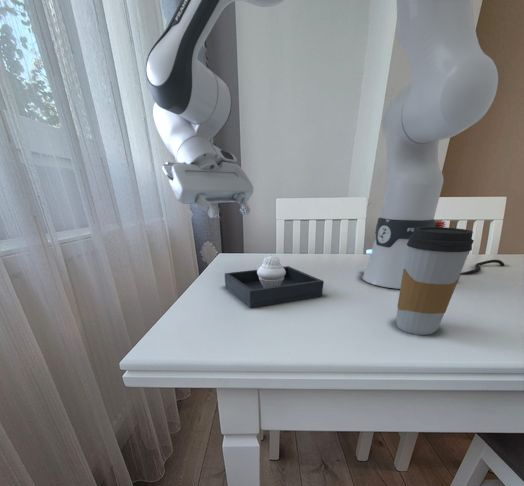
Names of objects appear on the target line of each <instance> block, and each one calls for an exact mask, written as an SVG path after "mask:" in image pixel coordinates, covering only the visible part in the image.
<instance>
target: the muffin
mask: <svg viewBox="0 0 524 486" xmlns="http://www.w3.org/2000/svg"><path fill="white" fill-rule="evenodd" d="M283 267H284V266H283V265H282V263H281V260H280V258H279V257H278V256H273V255H269V256H266V257H264V259H263V260H262V264H261V265H260V266H258V268H257V269H256V270H257V274H258V276H259V280H260V282H261V284H262V286H263V287H264V288H268V287H276V286H280V285H281V283H282V281H283V279H284V276H285V274H286V271H285V269H284V268H283Z"/></svg>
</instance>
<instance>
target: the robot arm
mask: <svg viewBox="0 0 524 486" xmlns="http://www.w3.org/2000/svg"><path fill="white" fill-rule="evenodd" d="M240 1H241V2H245V3H248V4H251V5H252V6H253V5H254V6H257V7H260V8H272V7H275V6H278V5H279V4H282V3H283V2H284V1H285V0H180V2H179V4H178V5H177V7H176V9H175V11H174V13H173V15H172V17H171V19H170V21H169V23H168V25H167V26H166V28H165V29H164V31H163V33H162V34H161V36H160V37H159V38H158V39H157V41H156V42H155V43H154V44H153V46H152V48H151V49H150V50H149V53H148V55H147V57H146V62H145V77H146V81H147V86H148V90H149V91H150V95H151V97H152V98H153V101H154V104H153V107H152V108H153V109H152V115H153V116H152V117H153V122H154V125H155V128H156V130H157V132H158V135H159V137H160V139H161V140H162V142H163V144H164V146H165V147H166V148H167V151H168V153H170V154H171V155H172V156H173V157H174V159H175V160H174V161H175V162H173V161H166V162H165V163H164V164H163V165H162V172H163V173H164V175H165V177H166V178H167V179H168V183H169V185H170V188H171V190H172V192H173V194H174V196H175V198H176V200H177V201H179V202H180V203H181V204H183V205H196V206H197V207H198V208H199V209H201V210H203V211H204V212H205V213H207V216H208V217H209V218H210V219H214V218H218V215H219V214H220V213H219V212H220V211H219V209H218V207H217V206H216V205H212V204H217V203H218V204H219V203H237V204H238V205H240V208H239V210H238V211H239V213H241V215H242V216H248V215H249V214H250V212H251V208H250V206H249V205H248V201H249V199H250V198H251V197H252V195H253V194H254V185H253V183H252V182H251V180H250V178H249V177H248V175H247V174H246V172H245V171H244V169H243V168H242V167H241V166H240V165H239V164H237V163H238V159H237V157H236V156H235V155H234V154H233V153H231V152H228V151H226V150H224V149H221V148H220V147H218V146H216V145H215V144H213V143H211V141H212V140H213V139H214V138H215V137H216V136H217V135H218V134H219V133H220V132H221V130H222V129H223V128H224V127H225V125H226V124H227V122H228V121H229V120H230V119H229V118H230V116H231V113H232V105H233V104H232V93H231V90H230V88H229V85H228V84H227V83H226V82H225V81H224V80H223V79H221V78H220V76H218V75H217V74H216V73H215V72H213V70H211V69H209V68H208V67H207V66H206V65H205V64H203V63H202V62H201V60H199V59H198V56H199V53H200V51H201V49H202V48H203V45H204V44H205V42H206V40H207V39H208V37H209V35H210V33H211V31H212V30H213V28H214V26H215V24H216V22H217V21H218V20H219V17H220V16H221V13H222V12H223V11H224V9H225V8H226V7H227V6H229V4H231V3H234V2H240ZM473 7H474V6H473V0H396V37H397V42H398V44H399V46H400V47H401V48H402V49H403V50H404V52H405V54H406V57H407V60H408V65H409V69H410V74H411V75H410V76H411V83H409V84H408V85H405V86H404V87H403V88H402V89H401V90H399V92H398V93H396V95H395V96H394V97H393V99H392V100H391V101H390V102H389V103H388V105H387V106H386V108H385V110H384V113H383V115H382V120H381V130H382V131H381V132H382V134H383V137H384V139H385V142H386V143H385V144H386V180H385V187H384V192H383V199H382V205H381V210H380V217H378V218H377V222H376V225H375V231H374V234H375V240H374V242H373V244H372V248H371V249H366V254H369V258H368V261H367V265H366V267H365V268H364V270H363V275H362V278H361V279H362V280H363V281H364V282H366V283H368V284H371V285H374V286H378V287H382V288H390V289H397V290H398V289H399V290H400V287H401V281H402V275H403V269H404V266H405V260H406V254H407V248H408V246H407V243H408V241H409V236H411V235H412V234H413V231H414V228H418V227H445V228H446V225H447V223H446V221H439V220H435V215H436V212H437V208H438V204H439V200H440V196H441V192H442V189H443V186H444V175H443V172H442V170H441V169H440V164H439V143H440V141H441V140H446V139H450V138H452V137H455V136H457V135H458V134H461V133H462V132H464V131H466V130H467V129H469V128H470V127H472V126H473V125H475V124H477V123H478V122H479V121H480V120H481V119H482V118H483V117H484V116H485V115H486V114H487V113H488V111H489V110H490V108H491V106H492V104H493V102H494V100H495V97H496V95H497V91H498V85H499V72H498V68H497V66H496V64H495V62H494V60H493V59H492V58H491V57H490V56H488V55H487V54H486V53H485V52H484V51H483V50H482V48H481V45H480V43H479V39H478V35H477V31H476V26H475V18H474V9H473ZM487 264H499V266H501V267H505V266H506V264H505V263H504V262H503V260H500V259H489V260H484V261H480V262H476V264H474V267H475V269H471V270H467V271H465V272H461V273H460V276H461V275H465V276H467V275H471V274H475V273H478V272H481V269H482V268H481V267H480V266H483V265H487Z"/></svg>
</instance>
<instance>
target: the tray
mask: <svg viewBox="0 0 524 486" xmlns="http://www.w3.org/2000/svg"><path fill="white" fill-rule="evenodd" d="M282 267H283V268H284V269H285V271H286V274H285V276H284V279H283V281H282V283H281V285H280V286H276V287H268V288H264V287H263V286H262V284H261V282H260V280H259V276H258V274H257V270H258V269H252V270H243V271H242V270H241V271H233V272H224V283H225V284H224V285H225V289H226V290H227V291H229V292H230V293H231V294H233V295H234V296H235V297H236V298H237V299H239V300H240V301H241V302H242V303H243V304H245V305H246V306H247V307H248V308H257V307H258V308H259V307H265V306H270V305H276V304H277V305H278V304H282V303H289V302H294V301H295V302H296V301H300V300H301V301H303V300H308V299H313V298H314V299H315V298H319V297H323V289H324V280H322V279H319V278H317V277H315V276H313V275H310V274H308V273H305V272H303V271H301V270H298V269H296V268H294V267H291V266H289V265H286V266H282Z"/></svg>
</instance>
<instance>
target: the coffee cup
mask: <svg viewBox="0 0 524 486" xmlns="http://www.w3.org/2000/svg"><path fill="white" fill-rule="evenodd" d="M473 233H474V231H473V230H469V229H465V228H457V227H456V228H455V227H446V226H445V227H418V228H414V231H413V234H412V235H411V236H409V241H408V243H407V246H408V248H407V254H406V260H405V266H404V269H403V275H402V281H401V287H400V289H399V292H398V293H399V294H398V299H397V300H398V301H397V310H396V316H395V322H396V327H397V328H398V329H400V330H402V331H403V332H405V333H408V334H412V335H413V334H414V335H419V336H427V335H433V334H434V333H436V331H438V330H439V328H440V325H441V322H442V320H443V317H444V315H445V314H446V312H447V310H448V306H449V304H450V301H451V299H452V297H453V294H454V292H455V290H456V288H457V284H458V282H459V280H460V278H461V275H460V273H462V270H463V268H464V266H465V263H466V260H467V258H468V256H469V254H470V252H471V251H473V250H472V249H473V244H474V242H475V241H474V239H473Z"/></svg>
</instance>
